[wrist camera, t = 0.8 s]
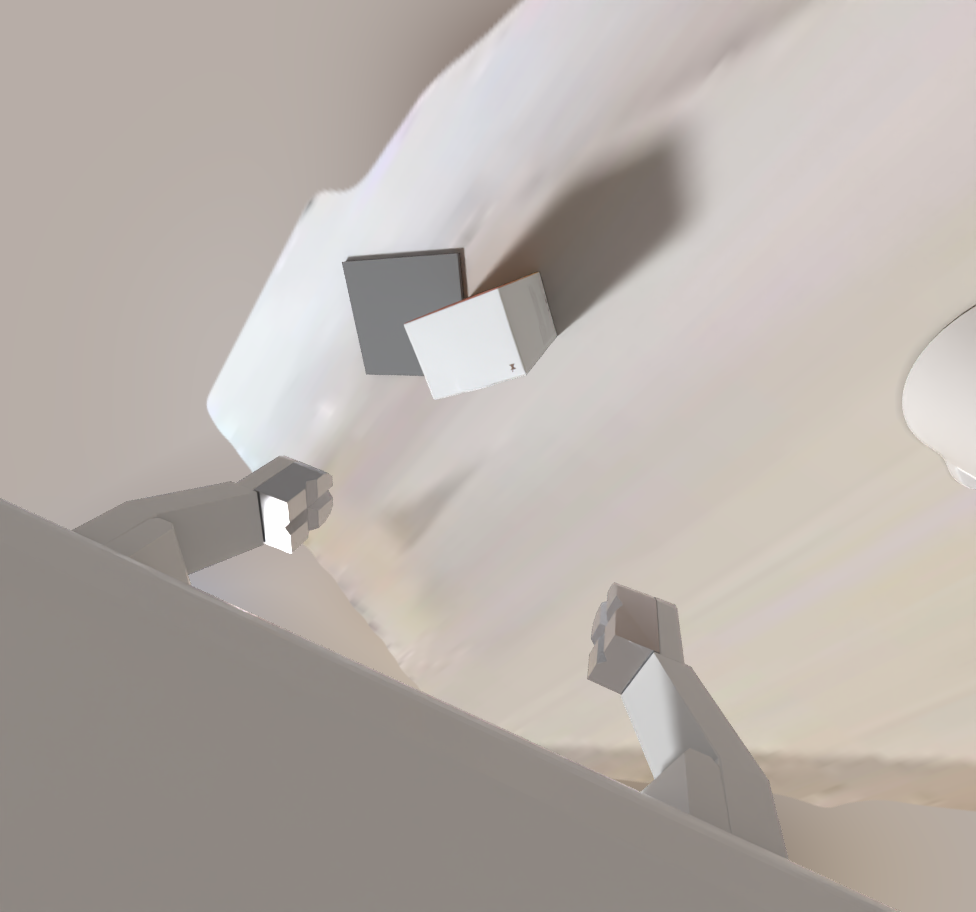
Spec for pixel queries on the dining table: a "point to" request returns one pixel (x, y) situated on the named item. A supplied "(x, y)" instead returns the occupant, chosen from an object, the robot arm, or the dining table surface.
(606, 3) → the dining table surface
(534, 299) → the small box
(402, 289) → the mat
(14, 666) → the robot arm
